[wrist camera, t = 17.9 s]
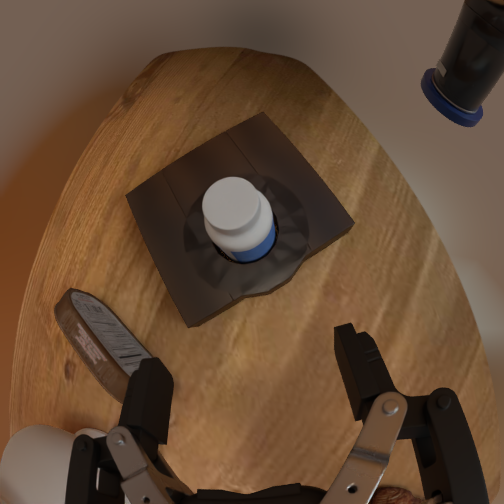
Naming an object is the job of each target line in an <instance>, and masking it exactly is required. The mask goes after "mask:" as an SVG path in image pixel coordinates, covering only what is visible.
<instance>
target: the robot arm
mask: <svg viewBox="0 0 504 504" xmlns="http://www.w3.org/2000/svg"><path fill="white" fill-rule="evenodd" d="M503 72H504V0H465V1H464V4H463V6H462V9H461V12H460V15H459V17H458V20H457V22H456V25H455V27H454V30H453V32H452V34H451V37H450V39H449V41H448V44H447V46H446V48H445V50H444V53H443V55H442V57H441V59H440V60H439V61H438V63H437V68H436V70H435V72H434V73H433V74H432V77H431V81H432V84H433V86H434V88H435V89H436V91H437V92H438V93H439V94H440V96H441V97H442V98H443V99H444V100H445V101H447V102H448V103H449V104H450V105H452V106H453V107H454V108H456V109H458V110H459V111H461V112H464V113H467V114H474V113H476V112H477V110H478V109H479V107H480V105H481V104H482V103H483V101H484V100H485V98H486V97H487V96H488V94H489V93H490V92H491V90H492V88H493V87H494V86H495V84H496V83H497V81H498V80H499V78H500V77H501V75H502V74H503ZM334 350H335V356H336V360H337V363H338V366H339V369H340V372H341V375H342V379H343V382H344V385H345V388H346V392H347V395H348V398H349V401H350V405H351V408H352V412H353V415H354V418H355V421H358V420H362V422H363V428H362V430H361V432H360V434H359V436H358V438H357V440H356V442H355V444H354V446H353V448H352V450H351V452H350V453H349V455H348V457H347V459H346V461H345V463H344V464H343V466H342V468H341V470H340V472H339V473H338V475H337V477H336V478H335V480H334V482H333V483H332V485H331V487H330V488H329V490H328V491H325V490H323V489H320V488H317V487H313V486H303V485H301V484H300V483H295V484H288V485H281V486H273V487H270V488H267V489H264V490H261V491H258V492H254V493H251V494H240V493H235V492H230V491H225V490H206V489H197V493H196V494H194V493H193V492H192V491H191V490H190V488H189V487H188V486H187V485H185V484H184V483H183V482H182V481H181V480H180V479H179V478H178V477H177V476H176V474H175V473H174V472H173V470H172V469H171V467H170V466H169V465H168V463H167V462H166V460H165V459H164V457H163V456H162V454H161V453H160V451H159V450H158V444H165V445H167V437H168V428H169V419H170V410H171V402H172V395H173V387H174V382H173V378H172V375H171V374H170V372H169V371H168V370H167V368H166V367H165V366H164V365H163V363H162V362H161V361H160V359H159V358H157V357H154V358H143V359H142V360H141V361H140V365H139V369H138V370H134V372H133V373H132V375H131V377H130V378H129V381H128V385H127V390H126V393H125V398H124V402H123V406H122V410H121V415H120V420H119V424H118V426H117V427H114V428H113V429H111V430H110V431H109V433H108V435H107V436H103V437H98V438H94V439H93V438H91V437H90V436H88V435H86V434H81V435H79V436H77V437H76V438H75V440H74V442H73V446H72V451H71V457H70V463H69V470H68V477H67V485H66V495H65V504H125V495H126V496H127V498H128V500H129V502H130V503H131V504H368V503H369V501H370V499H371V497H372V495H373V494H374V492H375V490H376V488H377V486H378V484H379V482H380V480H381V478H382V476H383V474H384V472H385V470H386V467H387V465H388V462H389V457H390V454H391V452H392V449H393V447H394V444H395V442H396V440H400V439H411V440H412V444H413V447H414V451H415V455H416V459H417V463H418V467H419V472H420V476H421V481H422V486H423V491H424V496H425V500H424V501H422V502H421V503H420V504H489V499H488V493H487V489H486V484H485V480H484V476H483V472H482V468H481V464H480V460H479V457H478V454H477V450H476V447H475V444H474V441H473V438H472V435H471V432H470V429H469V426H468V423H467V421H466V418H465V415H464V413H463V410H462V407H461V405H460V402H459V400H458V398H457V395H456V394H455V392H454V391H453V390H451V389H449V388H438V389H436V390H434V391H433V392H432V393H431V394H430V395H425V396H414V397H410V396H406V395H403V394H401V393H400V392H399V391H398V390H397V389H396V388H395V386H394V384H393V382H392V379H391V377H390V374H389V372H388V370H387V368H386V365H385V363H384V361H383V359H382V356H381V354H380V352H379V351H378V347H377V345H376V343H375V341H374V339H373V338H372V337H371V336H370V335H369V334H367V333H366V332H365V331H364V332H361V333H357V334H356V331H355V329H354V327H353V325H352V323H348V324H344V325H340V326H336V327H334ZM98 468H100V471H99V481H98V490H97V488H96V482H97V472H98Z"/></svg>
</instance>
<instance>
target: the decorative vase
mask: <svg viewBox="0 0 504 504" xmlns="http://www.w3.org/2000/svg"><path fill="white" fill-rule="evenodd" d="M81 434H86V435H88V436H90V437H91V438H93V439H94V438H98V437H103V436H107V435H108V434H107V433H105V432H103V431H101V430H98V429H94V428H84V429H81V430H79V431H77V432H76V433H75V434H72V433H69V432H67V431H64V430H62V429H59V428H56V427H53V426H48V425H32V426H28V427H25V428H23V429H21V430H19V431H18V432H16V433H15V434H14V435H13V436H12V437H11V439H10V440H9V442H8V444H7V445H6V448H5V450H4V453H3V456H2V459H1V464H0V504H65V495H66V485H67V477H68V470H69V463H70V457H71V451H72V446H73V442H74V440H75V438H76V437H77V436H79V435H81ZM99 471H100V468H98V472H97V482H96V488H97V490H98V481H99ZM125 504H131V503H130V502H129V500H128V498H127V496H126V495H125Z"/></svg>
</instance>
